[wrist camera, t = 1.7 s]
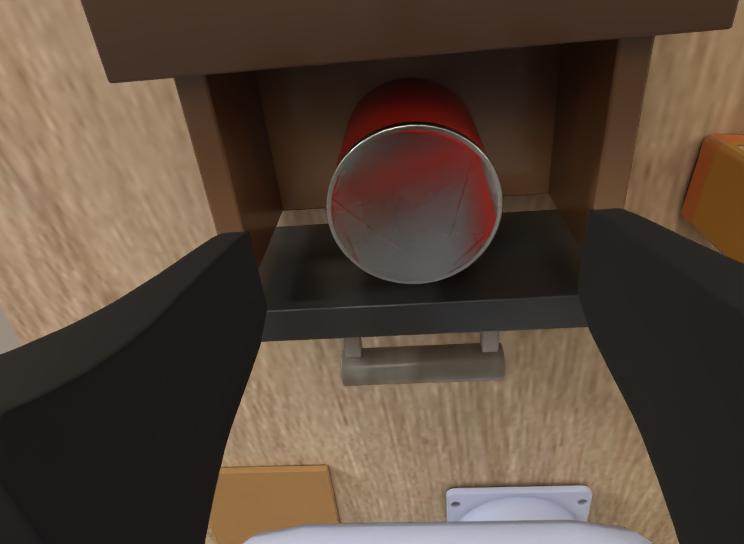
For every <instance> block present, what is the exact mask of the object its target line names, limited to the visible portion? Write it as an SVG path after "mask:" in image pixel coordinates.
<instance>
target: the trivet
mask: <svg viewBox="0 0 744 544" xmlns="http://www.w3.org/2000/svg"><path fill="white" fill-rule="evenodd" d="M334 523H340V521H339V516H338V512H337V507H336V502H335V497H334V492H333V487H332V483H331V478H330V473H329V468H328V465H310V466H271V467H231V468H220V472H219V477H218V481H217V485H216V490H215V495H214V499H213V504H212V509H211V514H210V519H209V525H210V528H211V530H212V532H213V535H214V537H215V539H216V542H217V544H243V543H244V542H245V541H247V540H248V539H249V538H251V537H253V536H255V535H257V534H259V533H262V532H267V531H273V530H278V529H284V528H289V527H294V526H300V525H305V524H334Z"/></svg>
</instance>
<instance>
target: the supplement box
mask: <svg viewBox="0 0 744 544" xmlns="http://www.w3.org/2000/svg"><path fill="white" fill-rule="evenodd" d="M681 215H682V217H683V218H684V219H686V220H687V221H688V222H689V223H690V224H691V225H692V226H693V227H694V228H696V229H697V230H698V231H699V232H700V233H701V234H702V235H703V236H704V237H705V238H707V239H708V240H709V241H710V242H711V243H712V244H713V245H714V246H715V247H716V248H717V249H718V250H720V251H721V252H722V253H723V254H724V255H725V256H727V257H729V258H732V259H734V260H737V261H739V262H741V263H744V135H729V134H711V135H708V136H706V137H705V138H704V140H703V144H702V147H701V149H700V154H699V158H698V161H697V164H696V167H695V170H694V173H693V176H692V179H691V182H690V185H689V189H688V192H687V195H686V198H685V201H684V204H683V207H682V210H681Z"/></svg>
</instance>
